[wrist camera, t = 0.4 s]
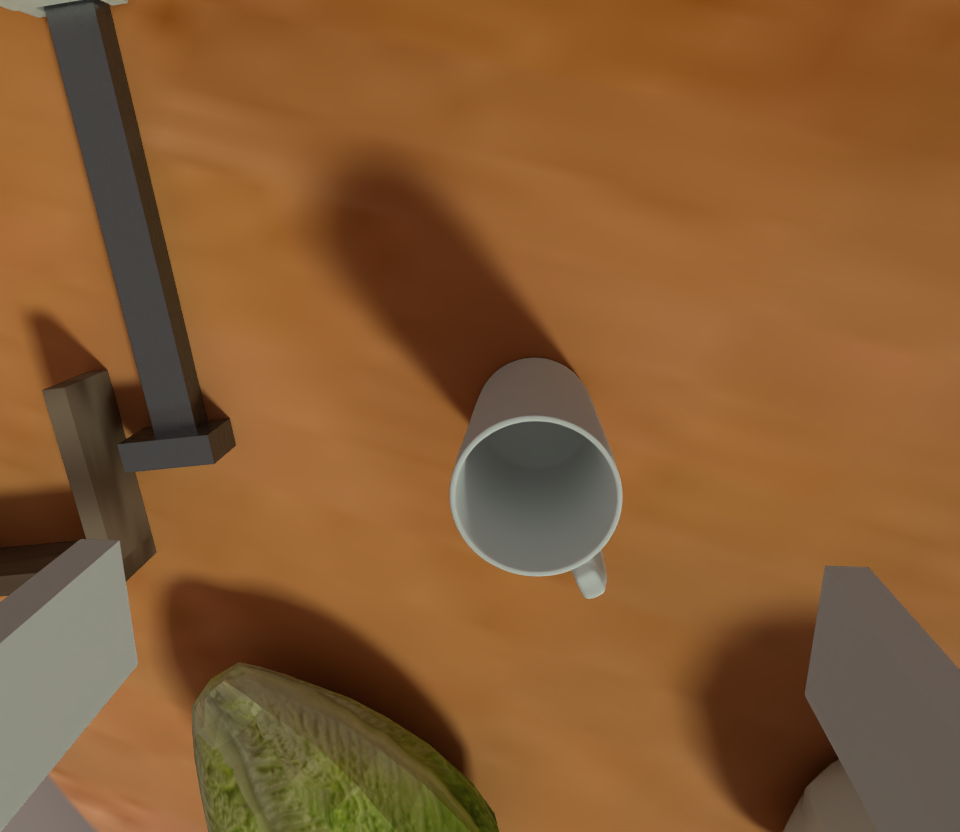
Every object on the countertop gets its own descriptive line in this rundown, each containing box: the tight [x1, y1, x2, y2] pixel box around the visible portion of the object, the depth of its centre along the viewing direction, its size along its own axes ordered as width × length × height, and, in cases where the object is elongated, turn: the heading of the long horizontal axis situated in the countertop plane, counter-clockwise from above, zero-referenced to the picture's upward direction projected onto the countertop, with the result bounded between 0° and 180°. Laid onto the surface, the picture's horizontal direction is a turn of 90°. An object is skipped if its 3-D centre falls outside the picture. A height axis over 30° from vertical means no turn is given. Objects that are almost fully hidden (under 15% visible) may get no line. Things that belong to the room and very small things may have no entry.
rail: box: [44, 0, 236, 473], centre depth 37 cm, size 33×5×3 cm, turn 7°
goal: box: [0, 370, 156, 596], centre depth 42 cm, size 11×12×4 cm
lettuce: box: [192, 662, 499, 832], centre depth 43 cm, size 13×22×14 cm
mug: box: [450, 358, 622, 599], centre depth 35 cm, size 10×7×12 cm, turn 28°
